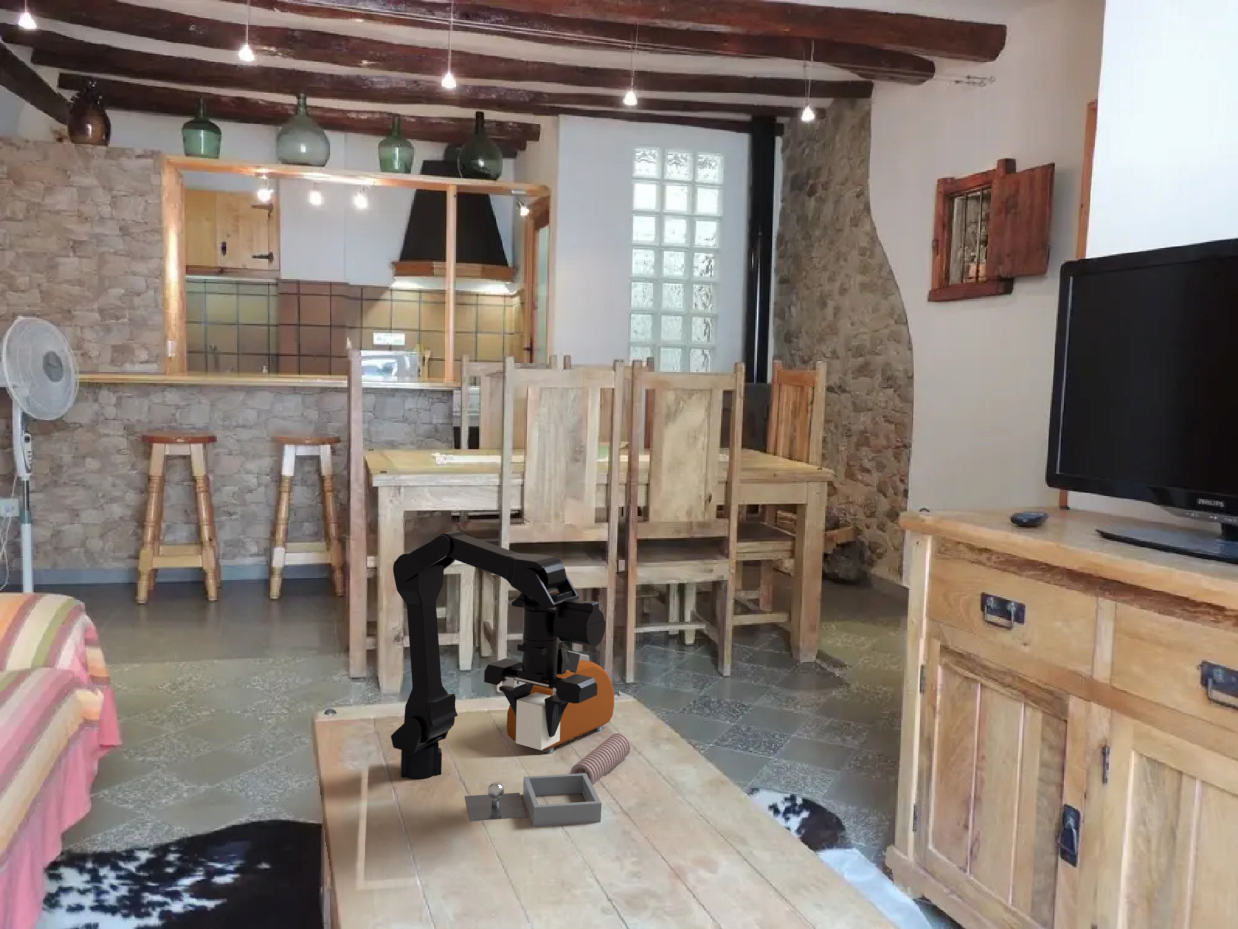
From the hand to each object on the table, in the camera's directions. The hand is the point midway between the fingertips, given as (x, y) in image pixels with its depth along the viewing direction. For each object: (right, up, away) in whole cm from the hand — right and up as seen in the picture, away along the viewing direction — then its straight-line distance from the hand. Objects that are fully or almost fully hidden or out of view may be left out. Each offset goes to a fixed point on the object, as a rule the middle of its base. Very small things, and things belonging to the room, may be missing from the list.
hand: (538, 732), depth 151 cm
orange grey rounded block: (+2, -11, +35) cm, 37 cm away
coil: (+10, -13, +19) cm, 25 cm away
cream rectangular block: (0, -2, 0) cm, 2 cm away
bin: (+3, -14, +2) cm, 14 cm away
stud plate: (-7, -13, +1) cm, 15 cm away
